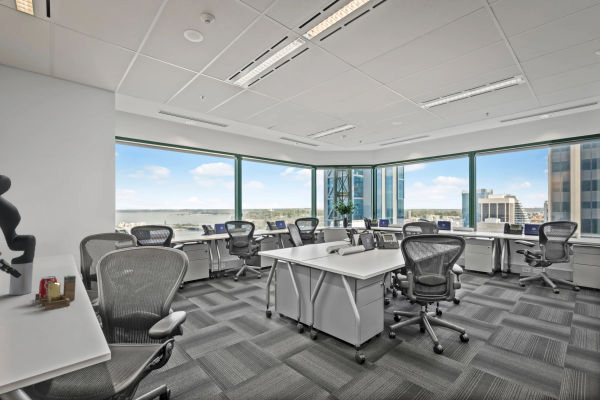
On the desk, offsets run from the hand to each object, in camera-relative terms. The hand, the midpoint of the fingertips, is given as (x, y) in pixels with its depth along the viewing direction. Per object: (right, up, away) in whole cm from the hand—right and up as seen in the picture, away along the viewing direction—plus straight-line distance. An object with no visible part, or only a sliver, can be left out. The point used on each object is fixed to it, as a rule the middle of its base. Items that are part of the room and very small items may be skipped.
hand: (18, 275), depth 133 cm
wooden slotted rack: (+4, -18, +16) cm, 25 cm away
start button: (+8, -8, +20) cm, 23 cm away
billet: (+8, -18, +10) cm, 22 cm away
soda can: (-3, -18, +19) cm, 26 cm away
